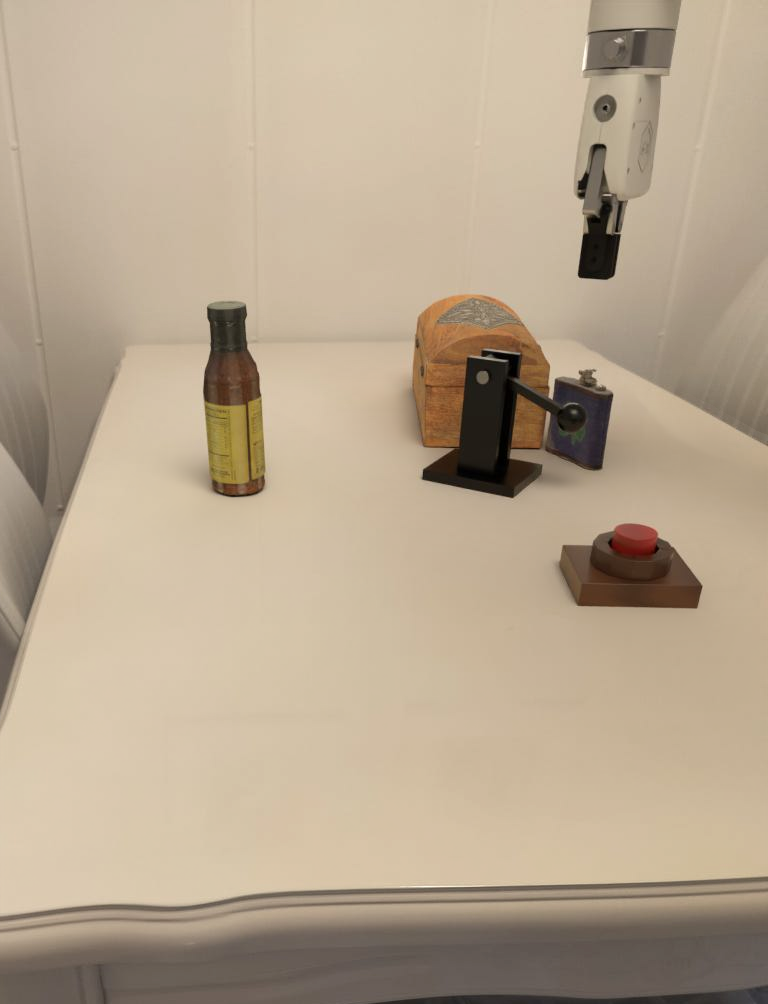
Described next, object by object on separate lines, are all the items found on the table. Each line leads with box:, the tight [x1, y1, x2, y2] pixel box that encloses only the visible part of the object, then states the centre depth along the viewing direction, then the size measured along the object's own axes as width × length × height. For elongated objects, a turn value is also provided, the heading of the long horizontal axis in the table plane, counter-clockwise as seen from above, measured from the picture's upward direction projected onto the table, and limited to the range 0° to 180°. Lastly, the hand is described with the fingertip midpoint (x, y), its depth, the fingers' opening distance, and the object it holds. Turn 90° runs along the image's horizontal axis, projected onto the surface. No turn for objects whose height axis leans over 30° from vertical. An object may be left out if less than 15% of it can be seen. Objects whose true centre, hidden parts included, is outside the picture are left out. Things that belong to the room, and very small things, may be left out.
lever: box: [486, 354, 588, 434], centre depth 99 cm, size 13×3×3 cm, turn 57°
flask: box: [545, 368, 614, 471], centre depth 109 cm, size 9×3×11 cm, turn 24°
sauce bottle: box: [202, 300, 266, 496], centre depth 98 cm, size 7×6×20 cm
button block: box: [558, 530, 703, 609], centre depth 80 cm, size 10×8×4 cm
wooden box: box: [412, 294, 551, 449], centre depth 124 cm, size 30×16×14 cm, turn 175°
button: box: [611, 522, 659, 556], centre depth 79 cm, size 4×4×2 cm
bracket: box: [421, 349, 543, 499], centre depth 103 cm, size 11×9×14 cm
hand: (595, 277), depth 90 cm, fingers closed
